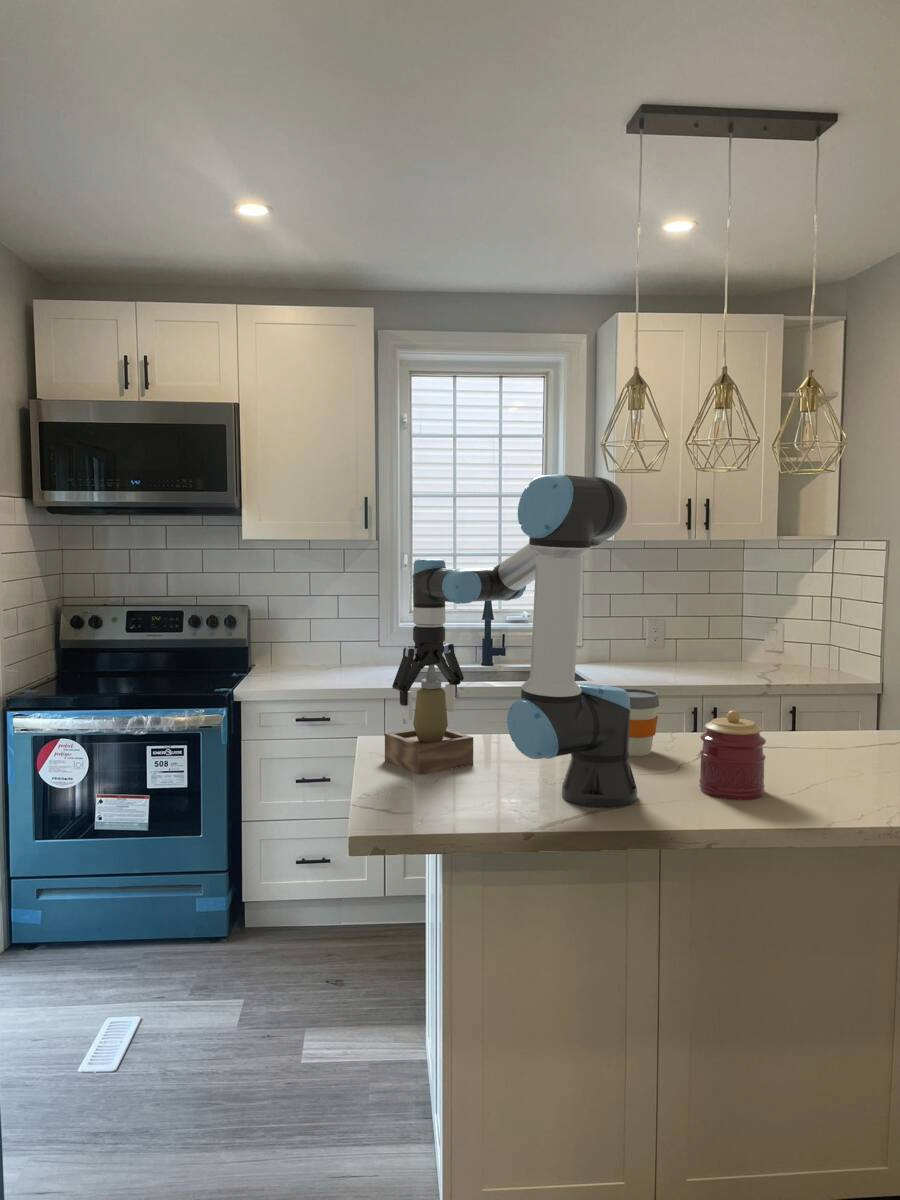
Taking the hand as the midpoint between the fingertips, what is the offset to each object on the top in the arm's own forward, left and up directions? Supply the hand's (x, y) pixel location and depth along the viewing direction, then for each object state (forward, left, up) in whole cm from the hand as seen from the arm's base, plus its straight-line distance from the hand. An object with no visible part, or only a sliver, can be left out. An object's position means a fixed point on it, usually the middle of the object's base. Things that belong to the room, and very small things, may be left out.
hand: (429, 715), depth 205 cm
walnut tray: (0, 0, -12) cm, 12 cm away
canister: (-49, -47, -12) cm, 69 cm away
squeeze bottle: (0, 0, -6) cm, 6 cm away
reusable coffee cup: (-12, -50, -12) cm, 53 cm away
